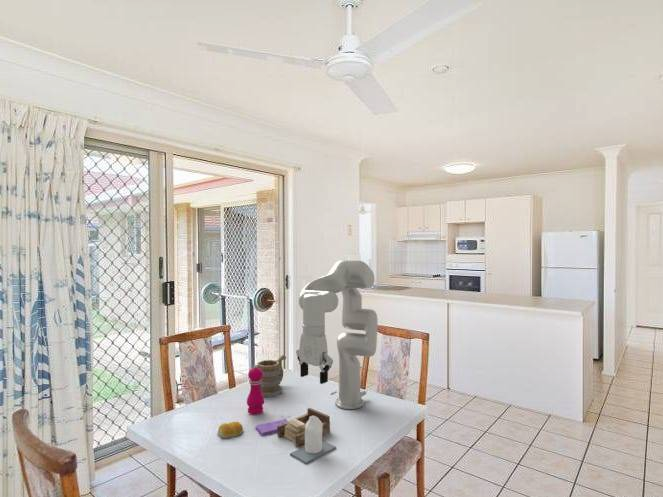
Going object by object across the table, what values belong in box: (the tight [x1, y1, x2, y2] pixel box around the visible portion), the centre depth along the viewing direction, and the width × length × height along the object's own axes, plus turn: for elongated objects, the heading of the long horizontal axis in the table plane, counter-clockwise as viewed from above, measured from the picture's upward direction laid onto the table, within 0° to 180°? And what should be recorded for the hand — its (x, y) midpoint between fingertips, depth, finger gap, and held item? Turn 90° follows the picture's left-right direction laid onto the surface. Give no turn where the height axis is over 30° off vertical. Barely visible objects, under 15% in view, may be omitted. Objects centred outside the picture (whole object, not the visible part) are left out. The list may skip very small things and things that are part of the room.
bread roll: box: [217, 421, 244, 439], centre depth 149 cm, size 8×9×4 cm
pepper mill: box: [246, 364, 265, 416], centre depth 168 cm, size 7×7×20 cm
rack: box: [276, 407, 331, 448], centre depth 148 cm, size 16×11×6 cm
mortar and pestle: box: [256, 354, 287, 398], centre depth 193 cm, size 20×13×15 cm, turn 147°
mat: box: [289, 439, 337, 465], centre depth 136 cm, size 14×8×1 cm, turn 136°
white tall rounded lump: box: [304, 415, 323, 453], centre depth 136 cm, size 6×12×6 cm
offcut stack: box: [284, 418, 305, 443], centre depth 145 cm, size 5×8×6 cm, turn 46°
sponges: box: [255, 418, 288, 437], centre depth 153 cm, size 7×13×2 cm, turn 118°
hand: (313, 379), depth 137 cm, fingers open, 9 cm apart
